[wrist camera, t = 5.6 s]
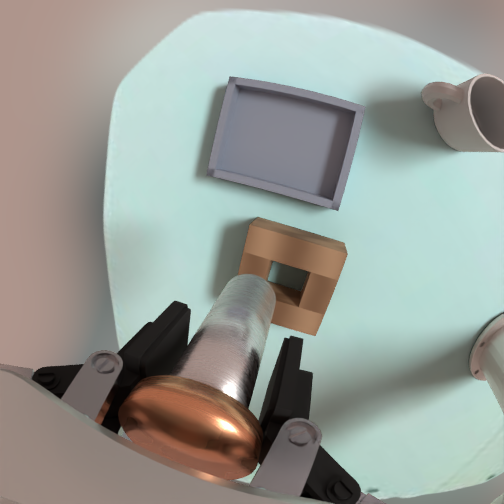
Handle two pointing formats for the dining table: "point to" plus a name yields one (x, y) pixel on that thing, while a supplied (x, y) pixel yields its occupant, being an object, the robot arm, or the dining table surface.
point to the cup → (469, 113)
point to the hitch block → (300, 256)
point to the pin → (209, 388)
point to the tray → (286, 140)
